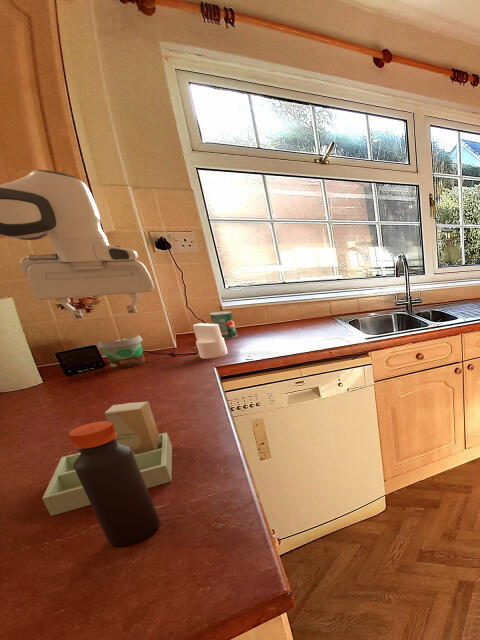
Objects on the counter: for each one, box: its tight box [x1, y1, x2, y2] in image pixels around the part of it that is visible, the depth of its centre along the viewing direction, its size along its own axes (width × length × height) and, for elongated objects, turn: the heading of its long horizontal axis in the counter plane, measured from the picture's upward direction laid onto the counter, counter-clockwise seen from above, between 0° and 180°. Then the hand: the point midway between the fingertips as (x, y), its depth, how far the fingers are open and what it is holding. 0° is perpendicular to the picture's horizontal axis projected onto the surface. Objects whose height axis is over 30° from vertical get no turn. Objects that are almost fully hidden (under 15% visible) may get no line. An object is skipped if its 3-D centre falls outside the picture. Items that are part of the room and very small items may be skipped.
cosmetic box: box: [104, 400, 162, 455], centre depth 90 cm, size 6×4×12 cm
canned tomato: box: [209, 310, 238, 340], centre depth 186 cm, size 8×8×11 cm
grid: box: [41, 432, 173, 517], centre depth 86 cm, size 17×17×4 cm
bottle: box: [68, 420, 161, 547], centre depth 68 cm, size 7×7×20 cm
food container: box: [97, 334, 146, 369], centre depth 151 cm, size 12×6×10 cm, turn 147°
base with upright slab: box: [192, 322, 229, 360], centre depth 162 cm, size 9×9×12 cm
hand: (106, 315), depth 98 cm, fingers open, 8 cm apart
